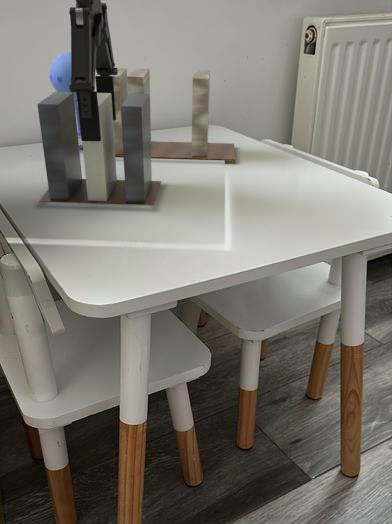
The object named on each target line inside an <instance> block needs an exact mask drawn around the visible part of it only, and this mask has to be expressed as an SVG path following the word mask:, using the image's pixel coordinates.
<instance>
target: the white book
mask: <svg viewBox="0 0 392 524" xmlns="http://www.w3.org/2000/svg"><path fill="white" fill-rule="evenodd" d="M97 99H98V110H99V122H100V133H101V141H82V140H81V142H82V145H83V148H82V151H83V152H82V153H83V163H84V172H85V173H84V174H85V179H86V185H87V195H88V201H107V200H108V198H109V196H110V194H111V192H112V190H113V188H114V186H115V184H116V182H117V180H118V177H117V159H116V157H115V143H114V127H113V111H112V96H111V93H97Z"/></svg>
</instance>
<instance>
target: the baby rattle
mask: <svg viewBox="0 0 392 524" xmlns="http://www.w3.org/2000/svg"><path fill="white" fill-rule="evenodd" d="M48 77H49V81H50V83H51V85H52V87H53V89H54V90H55V92H70V88H69V85H71V51H64V52H61V54H59V55H57V56H56V57H55V58H54V59H53V61H52V63H51V65H50V69H49V76H48ZM74 102H75V112H76V122H77V132H78V137H81V131H80V122H79V112H78V103H77V94H76V92H74ZM81 149H83V144H79V150H81Z"/></svg>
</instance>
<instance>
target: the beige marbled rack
mask: <svg viewBox="0 0 392 524" xmlns="http://www.w3.org/2000/svg"><path fill="white" fill-rule="evenodd" d="M116 68H117V69H118V74H117V75H110V76H113V82H114V96H115V110H116V120H113V127H114V143H115V158H120V159H121V158H122V159H124V157H123V139H122V121H121V105H122V104H123V103H124V101H125V100H126V99H127V98H128V96H129V95H130V94H149V101H150V102H151V80H150V79H151V78H150V77H151V75H150V73H151V72H150V68H133V70H131V72H130V73H129V74H128V69H127V68H124V67H123V68H122V67H121V68H119V67H116ZM191 81H192V83H191V84H192V87H191V89H192V93H191V99H192V100H191V141H189V142H188V141H187V142H186V141H153V140H151V160H153V159H156V160H191V161H222V162H224V164H227V165H235V164H236V155H235V154H236V153H235V152H236V151H235V143H228V142H227V143H225V142H209V130H210V129H209V125H210V124H209V123H210V121H209V120H210V90H211V89H210V88H211V70H206V69H205V70H202V69H201V70H199V69H195V70H194V72H193V75H192V80H191ZM151 109H152V108H150V136H151V137H152V118H151V117H152V113H151V111H152V110H151Z"/></svg>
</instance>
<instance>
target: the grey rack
mask: <svg viewBox="0 0 392 524" xmlns="http://www.w3.org/2000/svg"><path fill="white" fill-rule="evenodd" d="M36 105H37V110H38V111H37V113H38V119H39V127H40V135H41V142H42V148H43V157H44V165H45V171H46V172H45V173H46V180H47V186H48V190H46V192H45V194H44V195H43V196H42V197H41V198H40V200H39V201H38V202H39V203H65V204H70V203H71V204H100V205H129V206H130V205H133V206H155V202H156V199H157V196H158V193H159V191H160V190H159V189H160V186H161V183H162V181H161V180H153V177H152V175H153V173H152V171H153V170H152V158H151V141H152V135H151V136H150V109H151V100H150V101H149V94H130V95H129V96H128V98H127V99H126V100H125V101H124V103H123V104H122V105H121V121H122V139H123V157H124V158H123V173H124V179H117V182H116V184H115V186H114V188H113V190H112V192H111V194H110V196H109V198H108V200H107V201H88V195H87V185H86V178H83V173H82V164H81V154H80V153H81V152H80V149H79V146H80V144H79V136H78V126H77V119H76V111H75V102H74V92H57V91H54V92H52V93H50V94H49V95H48V96H46V97H45V98H44V99H43V100H41V101H39V102H38V103H37V104H36Z"/></svg>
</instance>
